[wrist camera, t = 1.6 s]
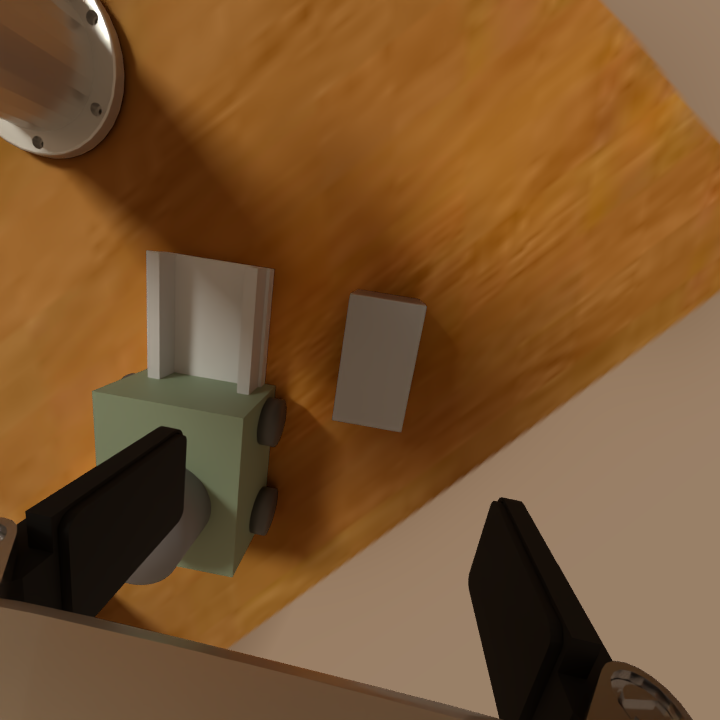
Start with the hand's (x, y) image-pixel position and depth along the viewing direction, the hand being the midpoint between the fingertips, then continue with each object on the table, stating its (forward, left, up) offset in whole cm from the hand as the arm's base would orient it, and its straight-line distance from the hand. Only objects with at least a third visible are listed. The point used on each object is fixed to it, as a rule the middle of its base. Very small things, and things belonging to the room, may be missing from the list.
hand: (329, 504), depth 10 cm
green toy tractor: (+6, -13, -19) cm, 24 cm away
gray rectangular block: (-1, +1, -20) cm, 20 cm away
